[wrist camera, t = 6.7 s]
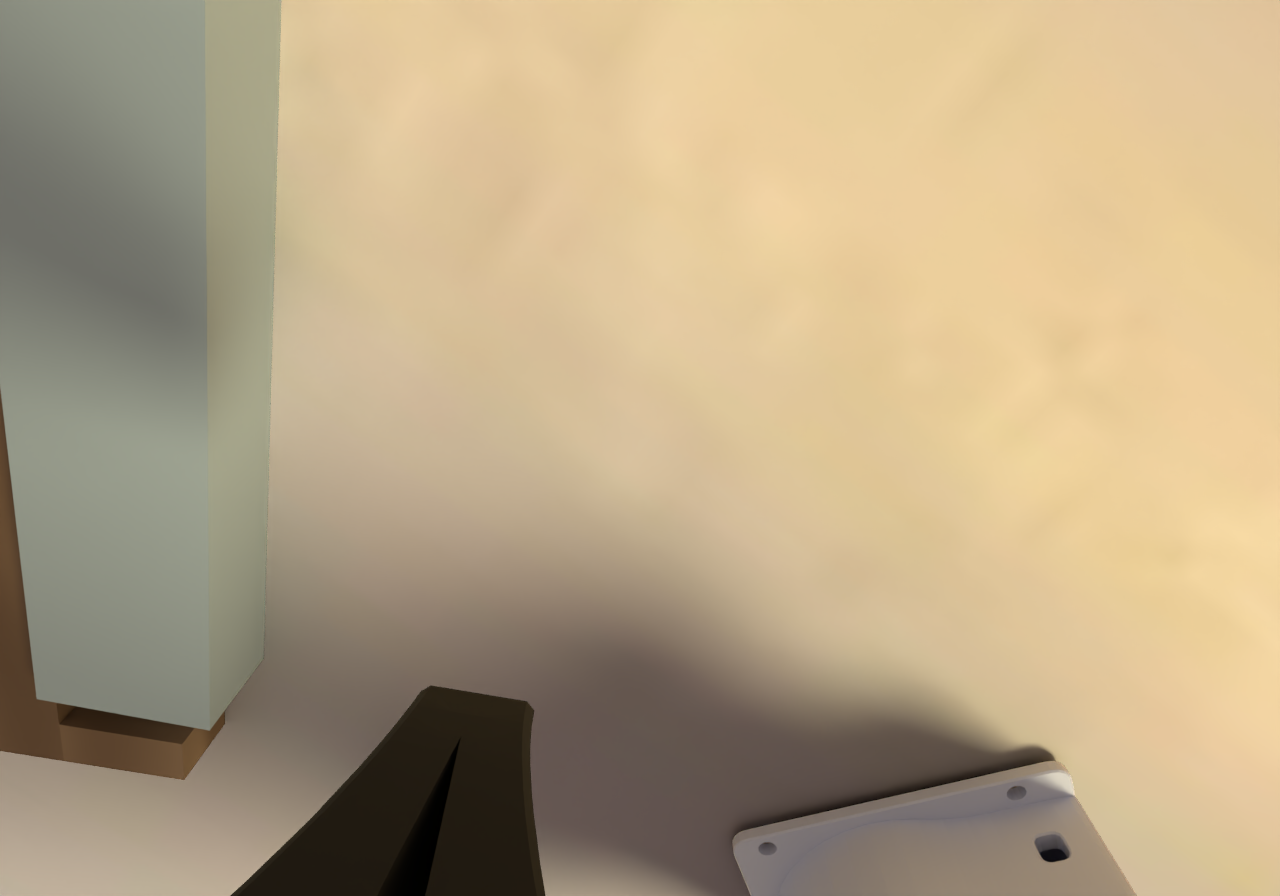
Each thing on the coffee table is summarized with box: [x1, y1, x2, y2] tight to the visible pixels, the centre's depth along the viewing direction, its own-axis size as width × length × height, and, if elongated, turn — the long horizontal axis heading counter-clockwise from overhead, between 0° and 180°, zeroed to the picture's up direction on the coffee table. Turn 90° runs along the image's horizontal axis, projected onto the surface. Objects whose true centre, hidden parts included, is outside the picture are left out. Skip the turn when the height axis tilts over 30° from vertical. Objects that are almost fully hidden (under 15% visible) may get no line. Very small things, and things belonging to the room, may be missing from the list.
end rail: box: [0, 389, 225, 780], centre depth 16 cm, size 5×21×2 cm, turn 169°
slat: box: [0, 0, 281, 731], centre depth 16 cm, size 4×16×3 cm, turn 168°
